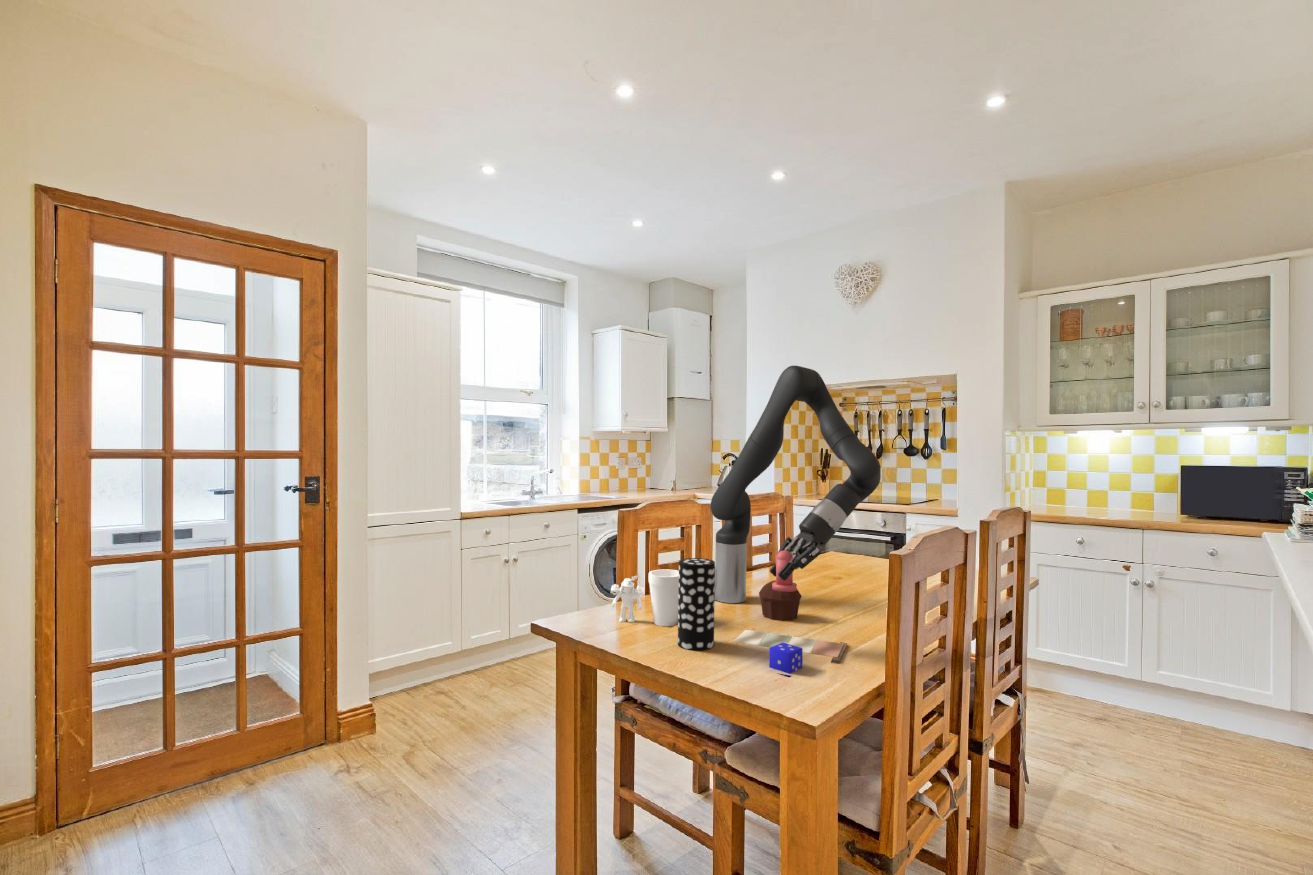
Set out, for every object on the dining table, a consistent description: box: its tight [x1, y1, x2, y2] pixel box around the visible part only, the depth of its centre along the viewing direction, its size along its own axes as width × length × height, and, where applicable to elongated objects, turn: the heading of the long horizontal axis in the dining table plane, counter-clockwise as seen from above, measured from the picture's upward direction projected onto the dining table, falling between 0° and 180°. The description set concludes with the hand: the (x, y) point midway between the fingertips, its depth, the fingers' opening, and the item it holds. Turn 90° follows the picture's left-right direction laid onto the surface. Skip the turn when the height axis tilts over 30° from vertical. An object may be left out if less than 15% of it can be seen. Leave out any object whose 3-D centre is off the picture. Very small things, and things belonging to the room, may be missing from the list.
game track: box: [732, 629, 848, 664], centre depth 148 cm, size 25×13×1 cm, turn 66°
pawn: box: [772, 550, 798, 592], centre depth 148 cm, size 6×6×9 cm
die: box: [768, 643, 804, 678], centre depth 132 cm, size 5×5×5 cm
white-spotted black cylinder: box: [677, 557, 715, 652], centre depth 146 cm, size 8×8×20 cm
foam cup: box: [648, 568, 679, 627], centre depth 165 cm, size 10×9×13 cm
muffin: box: [758, 579, 802, 622], centre depth 170 cm, size 12×11×10 cm
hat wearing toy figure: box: [610, 574, 645, 623], centre depth 167 cm, size 9×4×12 cm, turn 80°
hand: (777, 575), depth 148 cm, fingers closed on pawn, 3 cm apart
